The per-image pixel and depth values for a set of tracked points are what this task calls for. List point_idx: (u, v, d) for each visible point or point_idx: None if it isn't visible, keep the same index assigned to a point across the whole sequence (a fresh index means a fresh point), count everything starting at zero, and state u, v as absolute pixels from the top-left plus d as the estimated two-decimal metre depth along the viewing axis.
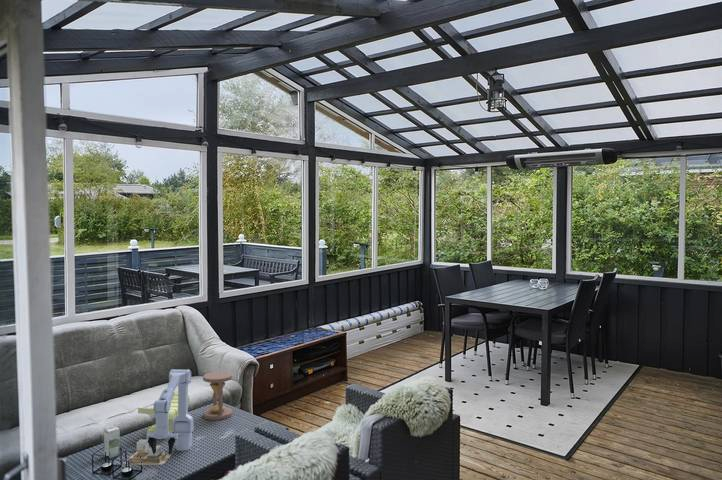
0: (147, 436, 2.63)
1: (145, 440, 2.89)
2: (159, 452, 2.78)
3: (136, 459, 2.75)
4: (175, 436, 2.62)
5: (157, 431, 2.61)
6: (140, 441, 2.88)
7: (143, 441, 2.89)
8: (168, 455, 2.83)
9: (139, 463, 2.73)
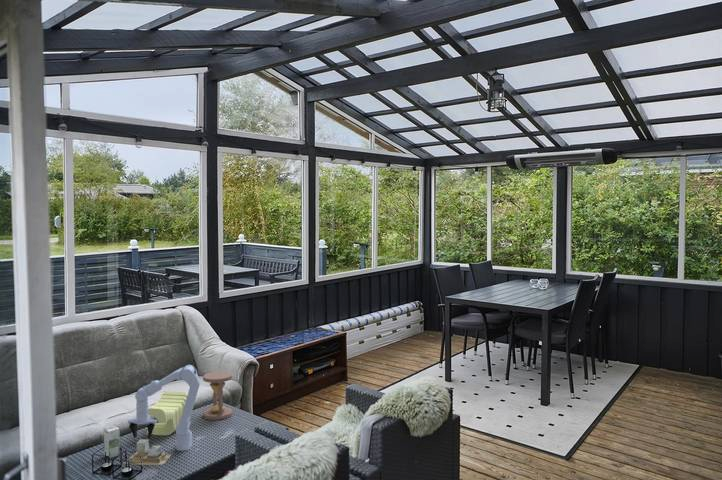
0: (128, 421, 2.87)
1: (145, 440, 2.89)
2: (159, 452, 2.78)
3: (136, 459, 2.75)
4: (154, 422, 2.87)
5: (137, 417, 2.85)
6: (140, 441, 2.88)
7: (143, 441, 2.89)
8: (168, 455, 2.83)
9: (139, 463, 2.73)
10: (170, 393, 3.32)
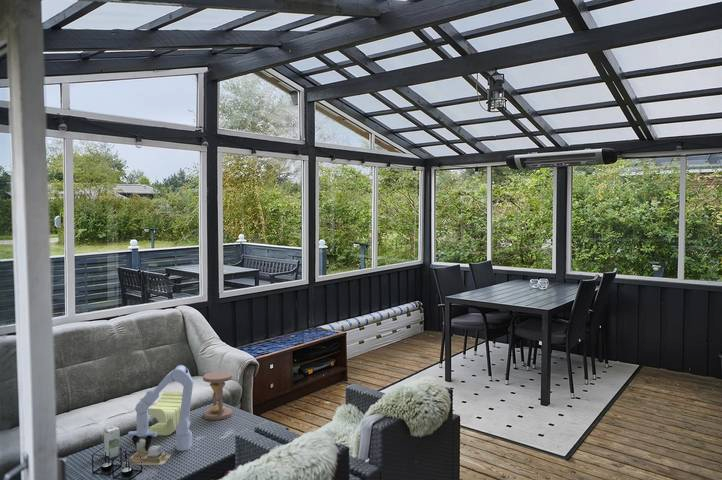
0: (129, 434, 2.88)
1: None
2: (159, 452, 2.78)
3: (136, 459, 2.75)
4: (154, 434, 2.87)
5: (138, 429, 2.86)
6: (140, 441, 2.88)
7: (143, 440, 2.89)
8: (168, 455, 2.83)
9: (139, 463, 2.73)
10: (170, 393, 3.32)
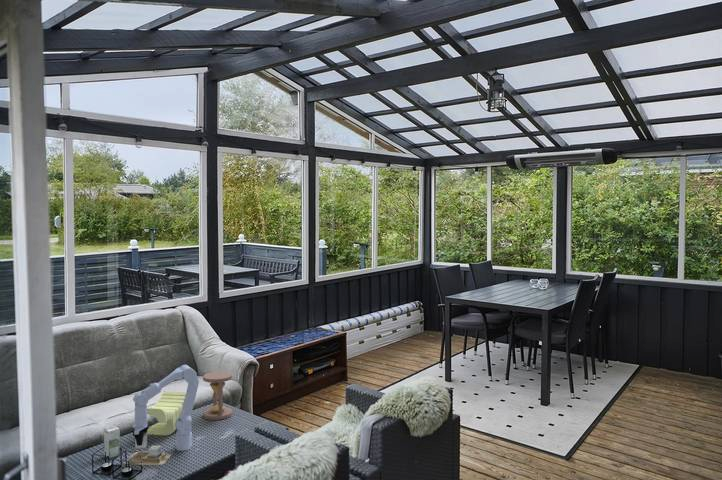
0: None
1: None
2: (159, 452, 2.78)
3: (136, 459, 2.75)
4: None
5: None
6: None
7: None
8: (168, 455, 2.83)
9: (139, 463, 2.73)
10: (170, 393, 3.32)
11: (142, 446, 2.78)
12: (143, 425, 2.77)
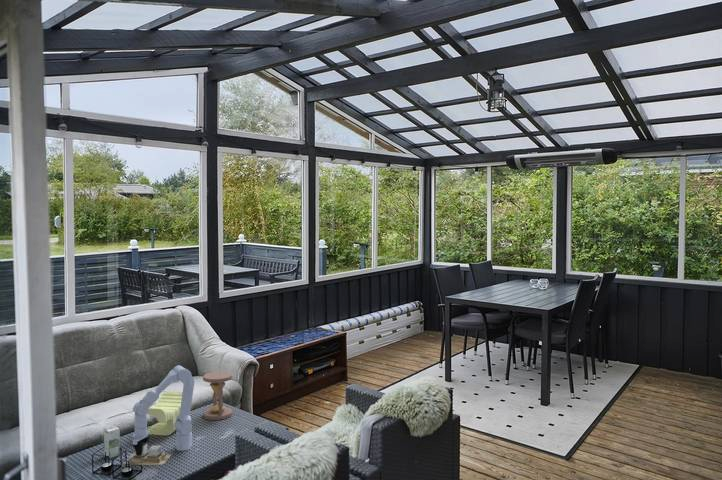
0: None
1: None
2: (159, 452, 2.78)
3: (136, 459, 2.75)
4: None
5: None
6: None
7: None
8: (168, 455, 2.83)
9: (139, 463, 2.73)
10: (170, 393, 3.32)
11: (141, 456, 2.76)
12: (142, 435, 2.76)
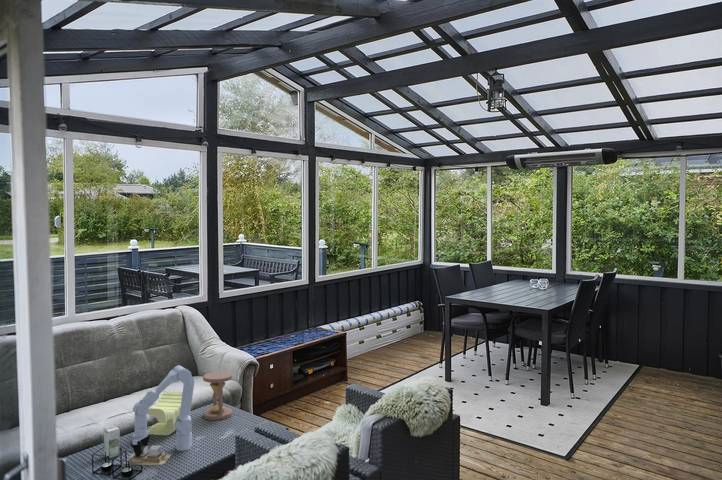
0: None
1: (141, 448, 2.77)
2: (159, 452, 2.78)
3: (136, 459, 2.75)
4: None
5: None
6: None
7: None
8: (168, 455, 2.83)
9: (139, 463, 2.73)
10: (170, 393, 3.32)
11: None
12: (142, 435, 2.76)
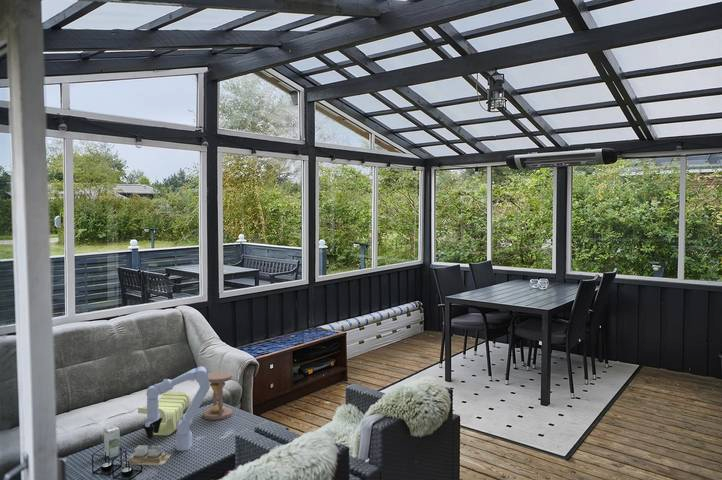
0: None
1: (141, 448, 2.77)
2: (159, 452, 2.78)
3: (136, 459, 2.75)
4: None
5: None
6: (141, 446, 2.79)
7: (141, 447, 2.78)
8: (168, 455, 2.83)
9: (139, 463, 2.73)
10: (170, 393, 3.32)
11: None
12: (154, 418, 2.85)
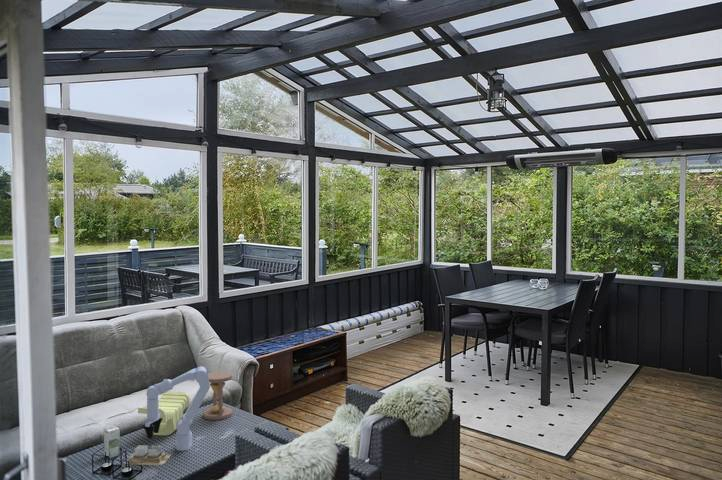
0: None
1: (141, 448, 2.77)
2: (159, 452, 2.78)
3: (136, 459, 2.75)
4: None
5: None
6: (141, 446, 2.79)
7: (141, 447, 2.78)
8: (168, 455, 2.83)
9: (139, 463, 2.73)
10: (170, 393, 3.32)
11: None
12: (154, 418, 2.85)
